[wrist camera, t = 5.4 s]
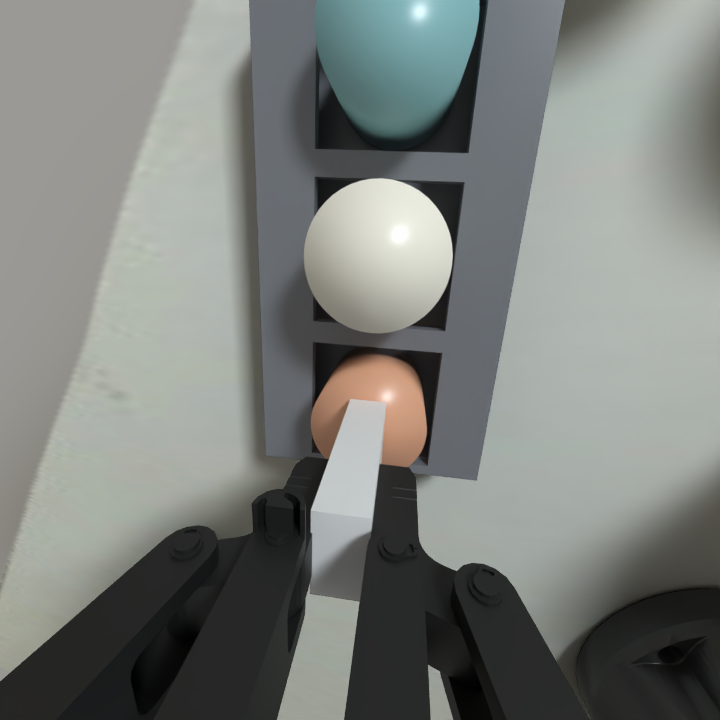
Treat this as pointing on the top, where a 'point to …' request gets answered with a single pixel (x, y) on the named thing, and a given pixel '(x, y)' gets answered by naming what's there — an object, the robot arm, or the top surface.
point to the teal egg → (395, 63)
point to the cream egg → (378, 255)
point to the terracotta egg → (375, 383)
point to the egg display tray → (423, 172)
